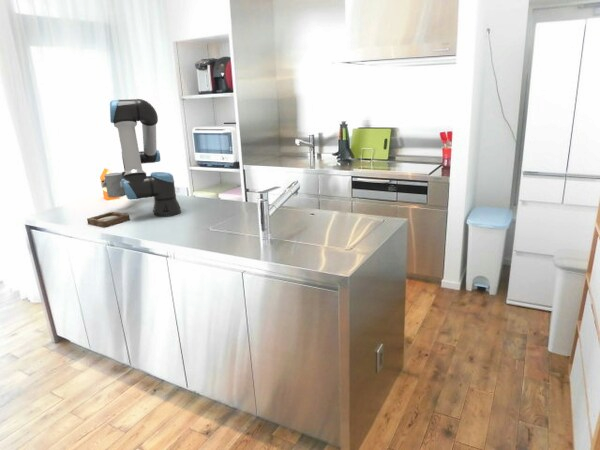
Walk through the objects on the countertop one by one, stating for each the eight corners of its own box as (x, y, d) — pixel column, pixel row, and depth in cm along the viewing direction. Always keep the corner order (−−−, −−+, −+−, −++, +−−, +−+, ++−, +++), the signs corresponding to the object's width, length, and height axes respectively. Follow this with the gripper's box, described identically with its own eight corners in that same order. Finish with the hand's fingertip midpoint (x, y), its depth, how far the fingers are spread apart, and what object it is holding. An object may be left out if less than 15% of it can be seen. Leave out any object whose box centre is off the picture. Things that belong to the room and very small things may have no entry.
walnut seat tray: (130, 220, 226) (129, 214, 225) (104, 227, 214) (103, 222, 213) (113, 216, 234) (112, 211, 233) (88, 224, 222) (86, 218, 221)
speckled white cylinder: (128, 193, 240) (125, 172, 236) (120, 197, 231) (116, 175, 227) (113, 193, 241) (109, 172, 237) (104, 197, 232) (100, 176, 228)
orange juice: (115, 196, 285) (110, 167, 279) (119, 198, 279) (114, 168, 273) (103, 198, 280) (98, 168, 274) (107, 200, 274) (102, 170, 268)
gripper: (145, 182, 252) (133, 190, 231) (108, 184, 252) (92, 192, 230) (143, 170, 250) (130, 177, 229) (106, 172, 250) (89, 179, 228)
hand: (111, 185), depth 230 cm, fingers closed on speckled white cylinder, 9 cm apart
